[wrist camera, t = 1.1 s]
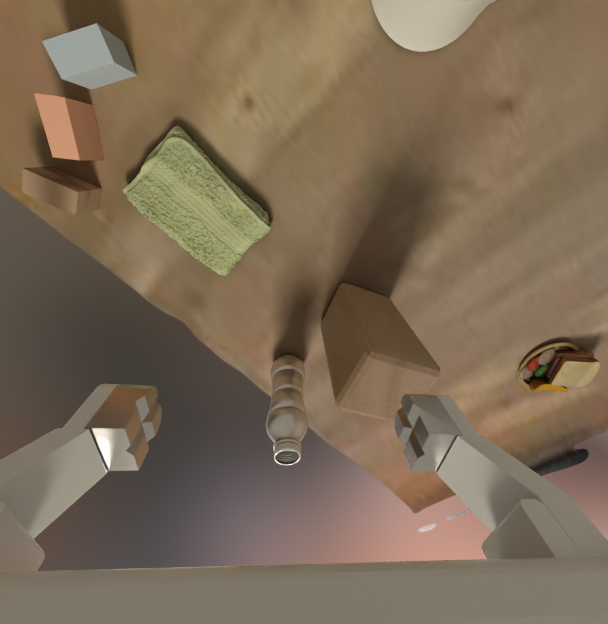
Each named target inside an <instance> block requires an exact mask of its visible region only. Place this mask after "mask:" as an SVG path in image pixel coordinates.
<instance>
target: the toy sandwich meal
mask: <svg viewBox="0 0 608 624" xmlns="http://www.w3.org/2000/svg"><path fill="white" fill-rule="evenodd" d="M599 368H600V362H599V361H598V360H597V359H595V358H594V354H593V352H591V351H590V350H584V351H580V350H579V348H578V347H577V346H575V345H574V344H571V343H566V342H559V343H552V344H548V345H545V346H542V347H540V348H538V349H536V350H535V351H533V352H532V353H530V354H529V355H528V356H527V357H526V358H525V359H524V361H523V362H522V364H521V366H520V368H519V372H518V377H519V381H520V382H521V383H522V384H523V385H524V386H526V387H529V388H530V389H531V390H532V391H533V392H534V391H539V390H552V391H564V392H565V391H567V388H566V387H564V386H571V387H577V388H582V387H584V386H585V385H587V384H588V383H589V382H590V381H591V380H592V379H593V378H594V377H595V376H596V374H597V372H598V371H599Z"/></svg>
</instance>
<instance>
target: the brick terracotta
mask: <svg viewBox="0 0 608 624" xmlns="http://www.w3.org/2000/svg"><path fill="white" fill-rule="evenodd" d="M34 94H35V98H36V101H37V105H38V108H39V112H40V115H41V118H42V122H43V125H44V129H45V132H46V136H47V139H48V143H49V146H50V150H51V153H52V157H55V158H64V159H72V160H104V156H103V151H102V146H101V142H100V137H99V132H98V127H97V122H96V118H95V113H94V108H93V105H90V104H87V103H83V102H79V101H76V100H72V99H69V98H65V97H58V96H51V95H44V94H37V93H34Z"/></svg>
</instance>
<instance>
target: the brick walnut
mask: <svg viewBox="0 0 608 624" xmlns="http://www.w3.org/2000/svg"><path fill="white" fill-rule="evenodd" d="M101 190H102V188H99V187H97V186H95V185H93V184H90V183H88V182H86V181H84V180H81V179H79V178H77V177H75V176H73V175H70V174H68V173H66V172H64V171H61V170H59V169H57V168H55V167H38V168H22V193H24V194H26V195H29V196H31V197H34V198H36V199H39V200H41V201H43V202H46V203H48V204H51V205H53V206H55V207H58V208H60V209H63V210H65V211H67V212H70V213H72V214H75V215H77V214H81V213H85V212H89V211H93V210H96V209H99V204H100V197H101Z"/></svg>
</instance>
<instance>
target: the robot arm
mask: <svg viewBox="0 0 608 624" xmlns="http://www.w3.org/2000/svg"><path fill="white" fill-rule="evenodd" d="M371 1H372V5H373V8H374V11H375V14H376V16H377V18H378V20H379V22H380V24H381V26H382V28H383V29H384V30H385V32H386V33H387V34H388V36H389V37H390V38H391V39H392V40H394V41H395V42H396V43H397V44H399V45H400V46H402V47H404V48H406V49H409V50H413V51H419V52H425V51H432V50H436V49H439V48H441V47H444V46H446V45H448V44H449V43H451V42H453V41H454V40H455V39H457V38H458V37H459V36H460V35H462V34H463V33H464V32H465V31H466V30H467V29H468V28H469V27H470V25H471V24H472V23H473V22H474V21H475V19H476V18H477V17H478V16H479V15H480V13H481V12H482V11H483V10H484V9H485V8H486V7H487V6H488V5H489V4H491V3H493V2H494V1H496V0H371ZM157 396H158V393H157V389H156V387H154V386H140V385H122V384H120V385H116V384H102V385H100V386H98V387H97V388H96V389H95V390H94V391H93V393H92V394H91V395H90V396H89V397H88V399H87V400H86V401H85V402H84V403H83V405H82V406H81V407H80V408H79V409H78V410H77V412H76V413H75V414H74V415H73V416H72V418H71V419H70V420H69V421H68V422H67V423H66V425H65V426H64V427H63V428H62V429H55V430H53V431H51V432H50V433H48V434H46V435H44V436H42V437H41V438H39V439H37V440H35V441H34V442H32V443H30V444H28V445H26V446H25V447H23V448H21V449H19V450H18V451H16V452H14V453H13V454H11V455H9V456H7V457H5V458H4V459H2V460H0V624H608V541H607V540H606V538H605V537H604V536H603V535H602V533H601V532H600V531H599V530H598V529H597V527H596V526H595V525H594V524H593V523H592V522H591V520H590V519H589V518H588V517H587V516H586V514H585V513H584V512H583V511H582V510H581V508H580V507H579V506H578V505H577V504H576V502H575V501H574V500H573V499H572V498H571V497H570V496H568V495H567V494H566V493H564V492H562V491H561V490H560V489H558V488H557V487H555V486H554V485H552V484H551V483H550V482H548V481H547V480H545V479H544V478H542V477H541V476H540V475H538V474H537V473H535V472H534V471H533V470H531V469H530V468H528V467H527V466H525V465H524V464H522V463H521V462H520V461H518V460H517V459H515V458H514V457H512V456H511V455H510V454H508V453H507V452H505V451H504V450H502V449H501V448H500V447H498V446H497V445H495V444H494V443H492V442H491V441H489V440H488V439H487V438H485V437H484V436H478V434H477V433H476V432H475V430H474V429H473V427H472V426H471V424H470V423H469V421H468V420H467V419H466V417H465V416H464V414H463V413H462V411H461V410H460V409H459V407H458V406H457V404H456V403H455V401H454V400H453V399H452V397H450V396H449V395H431V394H405V395H404V396H402V399H401V401H400V402H401V405H402V408H400V409H399V410H398V411H397V412H396V415H395V430H396V434H397V437H398V439H399V440H400V441H401V442H402V443H403V444H404V445H405V449H404V454H405V457H406V459H407V462H408V464H409V467H410V469H411V471H412V472H437V475H438V476H439V477H440V478H441V479H442V480H443V481H444V482H445V483H446V484H447V485H448V486H449V487H450V488H451V489H452V490H453V492H454V493H455V494H456V495H457V496H458V497H459V498H460V499H461V500H462V501H463V502H464V503H465V504H466V505H467V506H468V507H469V508H470V510H471V511H472V512H473V513H474V514H475V515H476V516H477V517H478V518H479V519H480V520H481V521H482V522H483V523H484V524H485V525H486V526H487V527H488V529H489V530H490V531H491V532H492V533H491V534H490V535H489V536H488V537H487V539H486V540H485V541H484V542H483V545H482V549H483V552H484V554H485V556H486V558H487V559H483V560H482V559H480V560H443V561H406V562H372V563H371V562H368V563H331V564H296V565H295V564H293V565H257V566H256V565H254V566H216V567H181V568H180V567H179V568H144V569H105V570H71V571H70V570H68V571H37V570H38V568H39V567H40V565H41V563H42V562H43V560H44V558H45V557H44V552H43V550H42V549H41V548H40V547H39V545H38V544H37V543H36V542H35V541H34V538H35V537H36V536H37V535H38V534H39V533H41V532H42V531H43V530H44V529H45V528H46V527H47V526H48V525H49V524H51V523H52V522H53V521H54V520H55V519H56V518H57V517H58V516H59V515H61V514H62V513H63V512H64V511H65V510H66V509H67V508H68V507H70V506H71V505H72V504H73V503H74V502H75V501H76V500H77V499H78V498H80V497H81V496H82V495H83V494H84V493H85V492H86V491H87V490H89V489H90V488H91V487H92V486H93V485H94V484H95V483H96V482H97V481H99V480H100V479H101V478H102V477H103V476H104V475H105V474H107V471H126V470H139V468H140V466H141V464H142V462H143V460H144V458H145V456H146V454H147V452H148V450H149V448H148V444H147V442H148V441H149V440H150V439H151V438H153V437H154V436H155V435H156V433H157V431H158V428H159V426H160V421H161V406H160V404H158V403H157V402H156V401H155V400H156V398H157Z"/></svg>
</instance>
